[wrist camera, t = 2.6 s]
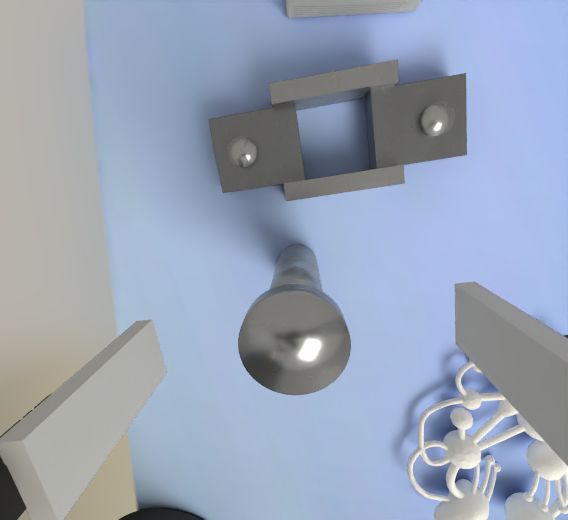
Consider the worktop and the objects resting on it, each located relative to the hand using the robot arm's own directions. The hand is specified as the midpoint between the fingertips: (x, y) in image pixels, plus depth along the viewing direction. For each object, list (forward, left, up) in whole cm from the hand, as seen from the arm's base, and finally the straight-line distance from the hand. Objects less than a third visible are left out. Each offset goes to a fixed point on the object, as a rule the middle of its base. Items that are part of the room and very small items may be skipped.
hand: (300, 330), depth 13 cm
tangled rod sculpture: (+15, -19, -13) cm, 27 cm away
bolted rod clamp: (+4, +9, -12) cm, 15 cm away
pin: (0, 0, -12) cm, 12 cm away
